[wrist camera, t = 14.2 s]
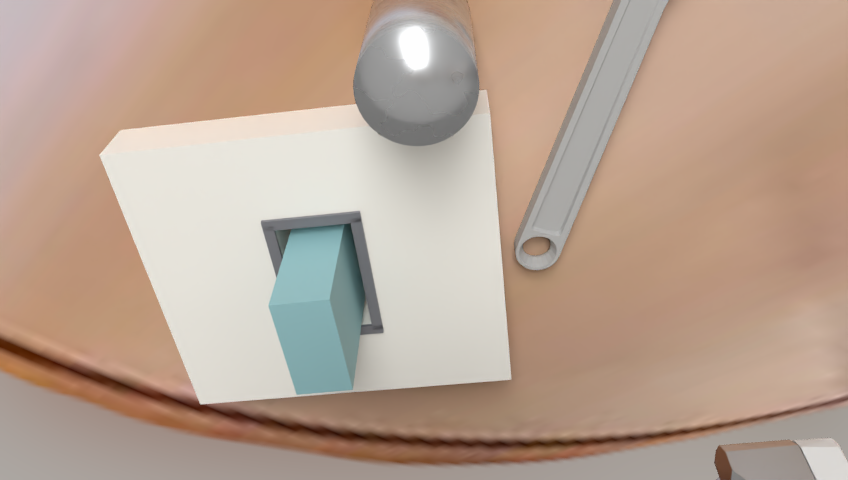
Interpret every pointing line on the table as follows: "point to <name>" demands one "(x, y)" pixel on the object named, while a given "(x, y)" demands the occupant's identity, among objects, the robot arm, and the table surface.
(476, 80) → the round peg
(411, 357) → the socket plate
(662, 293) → the table surface
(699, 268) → the table surface
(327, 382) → the flat bar
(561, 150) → the adjustable wrench
